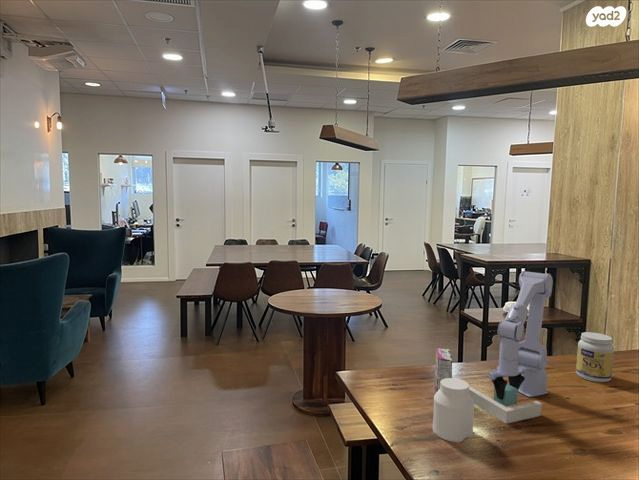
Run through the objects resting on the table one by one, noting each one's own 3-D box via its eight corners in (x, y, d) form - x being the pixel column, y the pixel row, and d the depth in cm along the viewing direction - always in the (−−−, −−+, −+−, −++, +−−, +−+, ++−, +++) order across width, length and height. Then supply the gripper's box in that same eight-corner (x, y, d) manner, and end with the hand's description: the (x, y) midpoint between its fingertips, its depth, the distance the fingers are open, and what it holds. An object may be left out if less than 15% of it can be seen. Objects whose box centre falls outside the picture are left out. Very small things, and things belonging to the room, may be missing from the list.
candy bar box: (433, 391, 157) (435, 347, 156) (448, 393, 156) (449, 348, 155) (435, 405, 146) (437, 358, 145) (451, 407, 145) (453, 359, 144)
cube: (505, 397, 147) (505, 383, 147) (517, 403, 143) (517, 389, 142) (493, 399, 145) (494, 385, 145) (505, 406, 141) (506, 391, 140)
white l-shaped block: (495, 390, 159) (495, 379, 159) (541, 415, 141) (541, 403, 140) (462, 396, 153) (462, 385, 153) (505, 423, 135) (506, 411, 135)
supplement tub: (575, 378, 171) (578, 337, 170) (576, 368, 181) (578, 329, 180) (612, 386, 165) (615, 342, 163) (611, 375, 175) (614, 334, 174)
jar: (454, 445, 122) (456, 394, 121) (427, 431, 130) (429, 382, 129) (477, 432, 129) (480, 384, 128) (450, 419, 137) (452, 373, 136)
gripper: (515, 350, 149) (513, 389, 150) (482, 355, 143) (480, 395, 145) (532, 357, 142) (530, 397, 144) (498, 363, 137) (496, 404, 138)
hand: (506, 397), depth 144 cm, fingers closed on cube, 5 cm apart
